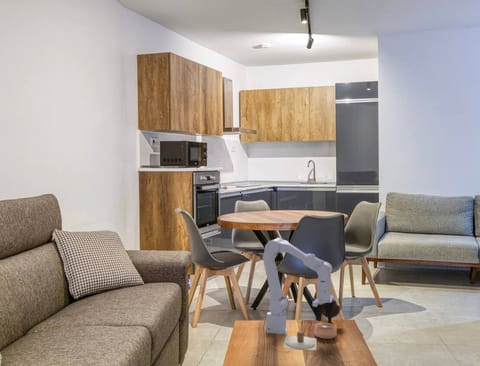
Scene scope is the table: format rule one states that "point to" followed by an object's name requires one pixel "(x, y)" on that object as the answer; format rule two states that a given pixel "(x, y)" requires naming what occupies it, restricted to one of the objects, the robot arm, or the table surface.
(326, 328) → the bowl
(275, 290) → the robot arm
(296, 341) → the lid
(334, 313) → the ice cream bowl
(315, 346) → the mat
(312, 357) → the table surface
